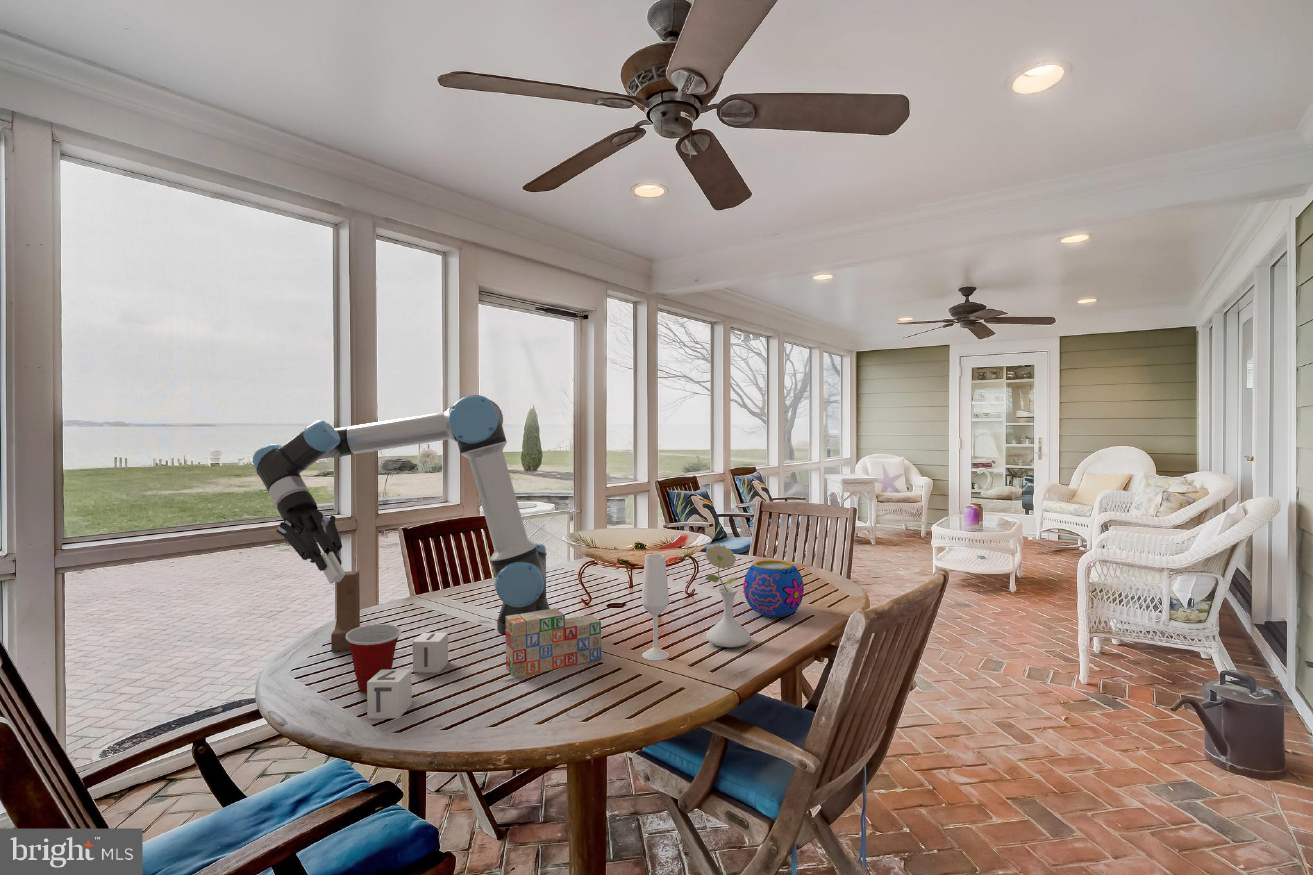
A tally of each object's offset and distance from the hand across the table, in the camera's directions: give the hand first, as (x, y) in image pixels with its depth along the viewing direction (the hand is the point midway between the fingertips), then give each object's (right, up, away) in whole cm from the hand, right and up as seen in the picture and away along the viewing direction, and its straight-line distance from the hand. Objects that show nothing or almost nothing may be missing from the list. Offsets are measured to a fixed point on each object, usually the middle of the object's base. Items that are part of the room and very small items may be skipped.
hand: (337, 578), depth 135 cm
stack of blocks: (+47, -22, +7) cm, 52 cm away
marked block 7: (+19, -22, -17) cm, 33 cm away
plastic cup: (+11, -22, -6) cm, 25 cm away
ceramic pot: (+105, -21, +43) cm, 116 cm away
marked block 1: (+19, -22, +5) cm, 29 cm away
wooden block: (-8, -22, +20) cm, 31 cm away
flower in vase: (+89, -21, +20) cm, 93 cm away
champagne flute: (+71, -21, +12) cm, 75 cm away
